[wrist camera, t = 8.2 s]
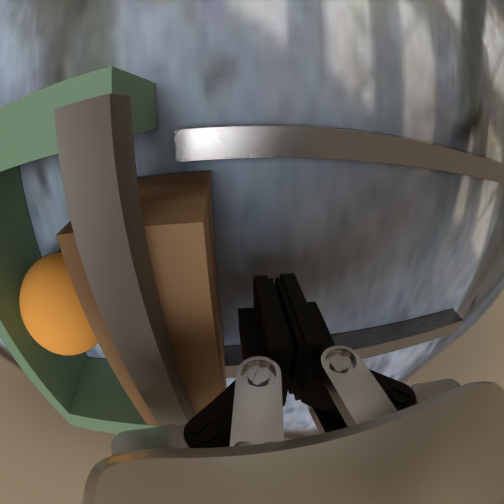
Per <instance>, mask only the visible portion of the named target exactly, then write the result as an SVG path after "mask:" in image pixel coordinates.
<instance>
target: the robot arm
mask: <svg viewBox="0 0 504 504" xmlns="http://www.w3.org/2000/svg"><path fill="white" fill-rule="evenodd" d="M253 289H254V308H242V309H238V317H239V332H240V342H241V351H242V359H243V362H241V364H240V365H239V366H238V369H237V372H236V380H235V381H234V382H233V383H232V384H231V385H229V386H228V387H227V388H226V389H225V390H224V391H223V392H222V393H221V394H219V395H218V396H217V397H216V398H215V399H214V400H213V401H211V402H210V403H209V404H208V405H207V406H206V407H205V408H203V409H202V410H201V411H200V412H199V413H198V414H196V415H195V416H194V417H193V418H192V419H190V420H189V422H188V423H187V424H182V425H177V426H176V424H170V425H164V426H158V427H152V428H145V429H137V430H129V431H123V432H120V433H118V434H117V435H116V436H115V437H114V439H113V440H112V445H111V450H112V456H110V457H108V458H105V459H103V460H101V461H100V462H98V463H97V464H96V465H95V466H94V467H93V468H92V469H91V471H90V473H89V475H88V478H87V481H86V484H85V488H84V492H83V498H82V504H504V389H503V388H502V387H501V386H500V385H499V384H497V383H494V382H487V381H482V382H472V383H467V384H464V385H460V384H459V383H458V382H457V381H455V380H453V379H444V380H438V381H432V382H424V383H416V384H412V386H410V387H409V386H408V385H406V384H404V383H402V382H399V381H397V380H394V379H392V378H389V377H387V376H384V375H382V374H379V373H377V372H375V371H372V370H370V369H368V367H367V366H366V365H365V363H364V362H363V360H362V359H361V358H360V356H359V355H358V354H357V353H356V352H355V351H354V350H353V349H351V348H349V347H346V346H339V345H337V346H336V345H335V343H334V341H333V339H332V337H331V334H330V332H329V330H328V328H327V326H326V323H325V321H324V319H323V317H322V315H321V312H320V310H319V308H318V306H317V304H316V303H315V302H306V299H305V297H304V295H303V292H302V290H301V288H300V286H299V283H298V281H297V279H296V276H295V274H294V273H289V274H281V275H280V278H276V280H275V285H274V282H273V279H272V278H269V279H268V276H267V275H263V276H254V278H253ZM287 391H289V394H293V393H294V396H295V400H301V402H303V403H305V404H306V405H308V410H309V412H310V414H311V416H312V418H313V421H314V423H315V425H316V427H317V429H318V431H319V433H320V434H318V435H313V436H308V437H303V438H297V439H291V440H285V441H284V434H283V406H284V405H285V402H286V396H287Z"/></svg>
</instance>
